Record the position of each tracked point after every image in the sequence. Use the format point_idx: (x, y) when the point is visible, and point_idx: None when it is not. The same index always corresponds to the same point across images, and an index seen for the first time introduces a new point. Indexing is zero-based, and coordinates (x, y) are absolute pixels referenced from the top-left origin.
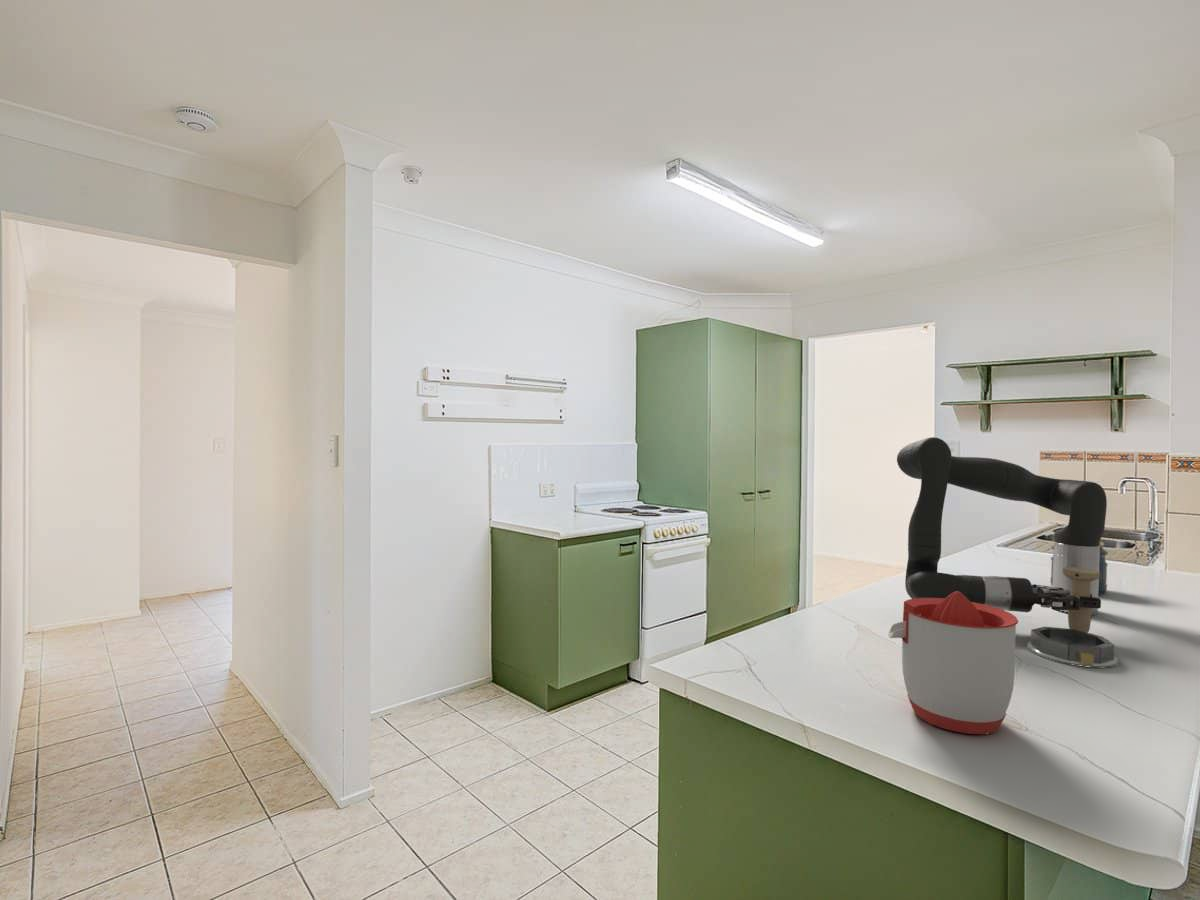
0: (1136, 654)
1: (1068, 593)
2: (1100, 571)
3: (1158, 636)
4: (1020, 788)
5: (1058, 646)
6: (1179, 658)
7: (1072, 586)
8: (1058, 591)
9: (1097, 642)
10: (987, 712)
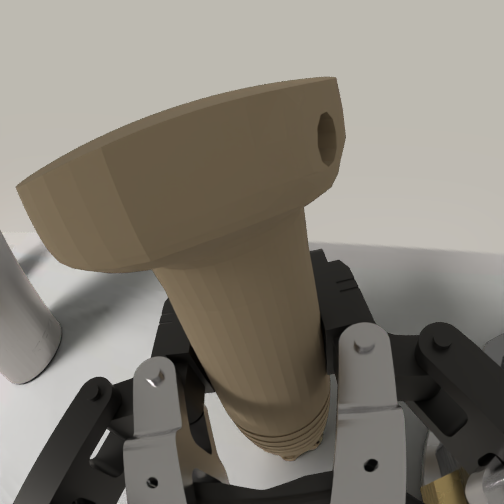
0: (394, 312)
1: (182, 381)
2: None
3: None
4: None
5: None
6: (359, 255)
7: (259, 315)
8: (345, 474)
9: (502, 363)
10: None
